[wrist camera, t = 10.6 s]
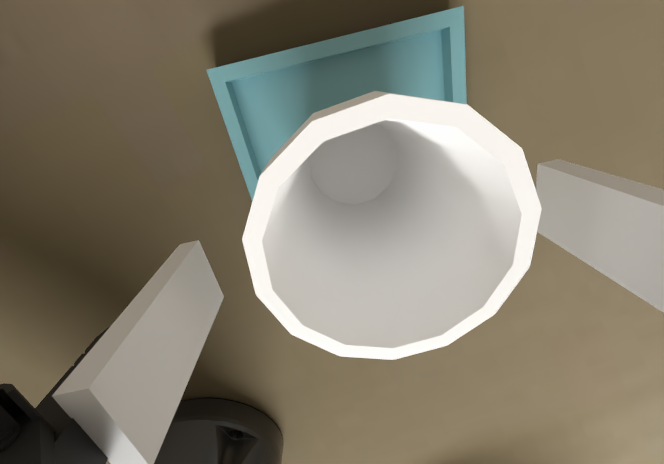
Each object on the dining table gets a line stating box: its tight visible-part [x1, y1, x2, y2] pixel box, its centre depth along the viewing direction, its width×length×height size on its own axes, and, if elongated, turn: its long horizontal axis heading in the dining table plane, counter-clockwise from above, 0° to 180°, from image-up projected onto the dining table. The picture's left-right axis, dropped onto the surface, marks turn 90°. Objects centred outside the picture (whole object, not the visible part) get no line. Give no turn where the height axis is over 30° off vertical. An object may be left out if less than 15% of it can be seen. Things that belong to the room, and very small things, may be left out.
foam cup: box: [242, 91, 542, 360], centre depth 16 cm, size 10×9×13 cm
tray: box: [207, 6, 467, 202], centre depth 22 cm, size 15×15×2 cm
